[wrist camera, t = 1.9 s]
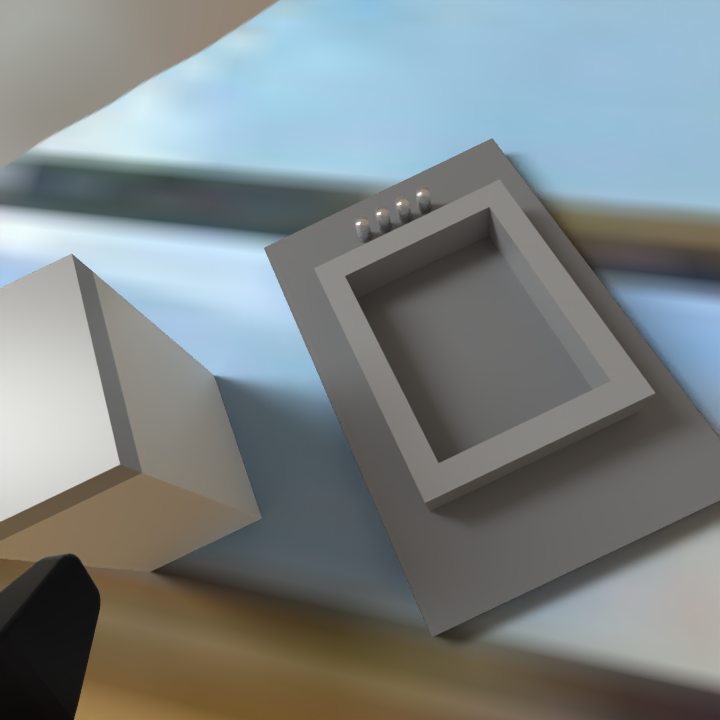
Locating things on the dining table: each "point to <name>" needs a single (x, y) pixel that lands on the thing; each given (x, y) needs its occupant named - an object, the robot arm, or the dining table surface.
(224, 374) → the dining table surface
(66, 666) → the robot arm
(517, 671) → the dining table surface
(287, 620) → the dining table surface
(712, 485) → the socket board
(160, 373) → the plug
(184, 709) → the dining table surface
